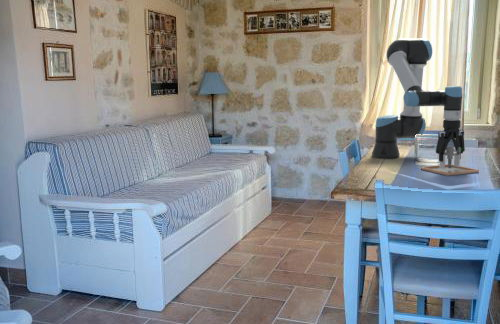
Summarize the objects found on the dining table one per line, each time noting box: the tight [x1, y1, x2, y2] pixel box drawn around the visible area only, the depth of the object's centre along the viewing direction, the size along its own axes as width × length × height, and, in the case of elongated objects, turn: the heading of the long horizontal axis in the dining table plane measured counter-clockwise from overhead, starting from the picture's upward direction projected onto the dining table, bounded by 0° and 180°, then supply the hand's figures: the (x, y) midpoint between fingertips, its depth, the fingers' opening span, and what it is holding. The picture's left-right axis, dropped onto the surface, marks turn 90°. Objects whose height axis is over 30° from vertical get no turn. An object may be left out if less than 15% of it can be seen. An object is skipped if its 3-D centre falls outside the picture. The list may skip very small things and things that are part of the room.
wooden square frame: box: [420, 163, 480, 177], centre depth 228 cm, size 18×18×1 cm
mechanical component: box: [444, 146, 462, 168], centre depth 227 cm, size 3×10×10 cm, turn 78°
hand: (449, 167), depth 228 cm, fingers closed on mechanical component, 8 cm apart
